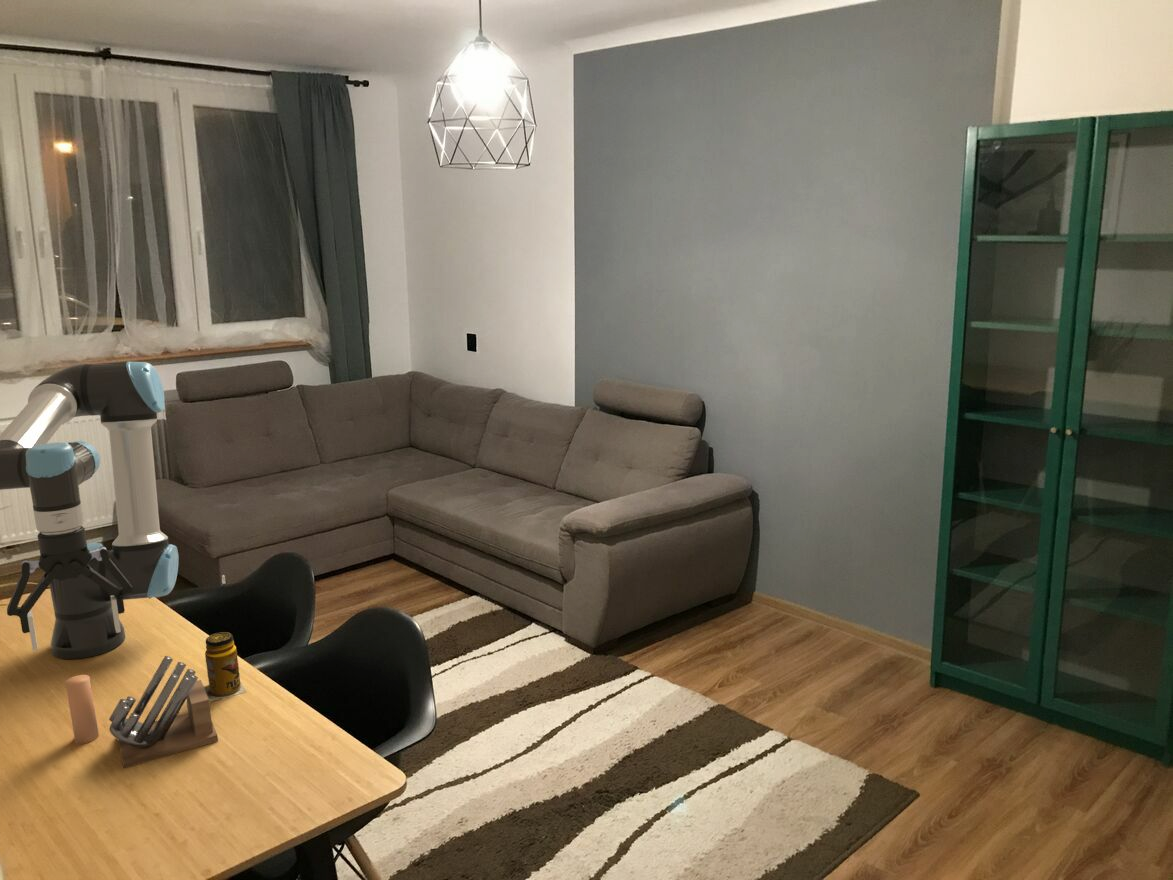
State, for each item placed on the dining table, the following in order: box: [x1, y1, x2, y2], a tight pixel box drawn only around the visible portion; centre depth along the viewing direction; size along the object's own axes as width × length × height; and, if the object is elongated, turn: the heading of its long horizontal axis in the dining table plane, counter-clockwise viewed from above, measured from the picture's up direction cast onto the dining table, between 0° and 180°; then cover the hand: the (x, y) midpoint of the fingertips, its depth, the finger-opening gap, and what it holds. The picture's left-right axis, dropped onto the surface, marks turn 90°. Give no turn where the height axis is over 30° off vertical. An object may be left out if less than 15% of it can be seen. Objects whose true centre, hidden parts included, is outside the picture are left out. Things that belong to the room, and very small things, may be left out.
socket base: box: [117, 679, 219, 769], centre depth 174 cm, size 12×16×8 cm
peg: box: [64, 674, 100, 745], centre depth 175 cm, size 4×4×12 cm
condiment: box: [203, 631, 247, 703], centre depth 191 cm, size 7×8×12 cm
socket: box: [108, 655, 199, 749], centre depth 173 cm, size 10×16×15 cm, turn 121°
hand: (77, 639), depth 172 cm, fingers open, 13 cm apart
